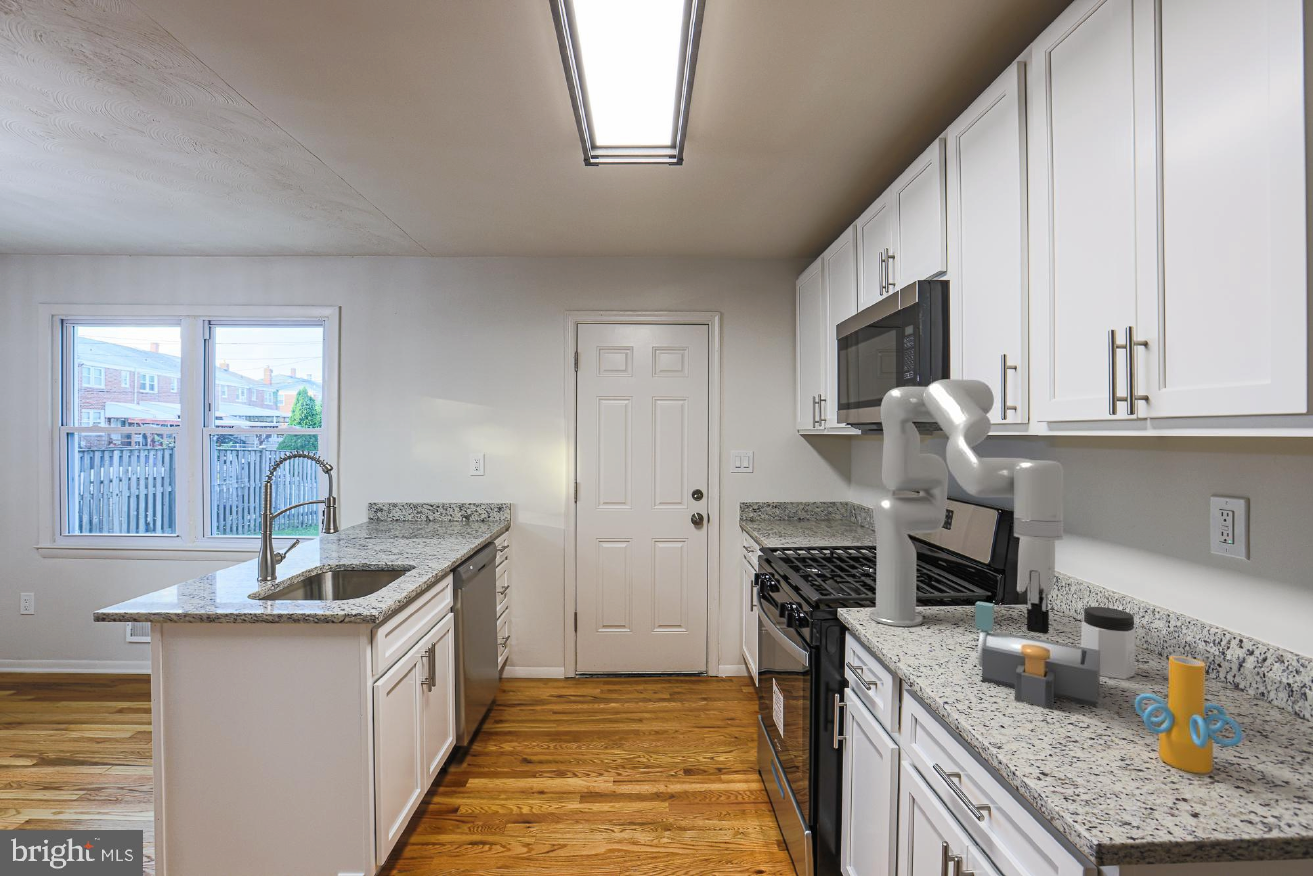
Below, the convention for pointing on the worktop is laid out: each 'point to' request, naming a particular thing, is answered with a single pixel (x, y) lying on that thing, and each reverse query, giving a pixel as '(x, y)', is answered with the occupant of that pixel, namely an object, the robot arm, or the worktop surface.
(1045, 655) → the plunger
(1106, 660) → the jar
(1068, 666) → the housing
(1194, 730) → the ringed yellow tube
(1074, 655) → the cartridge
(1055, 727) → the worktop surface
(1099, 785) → the worktop surface
